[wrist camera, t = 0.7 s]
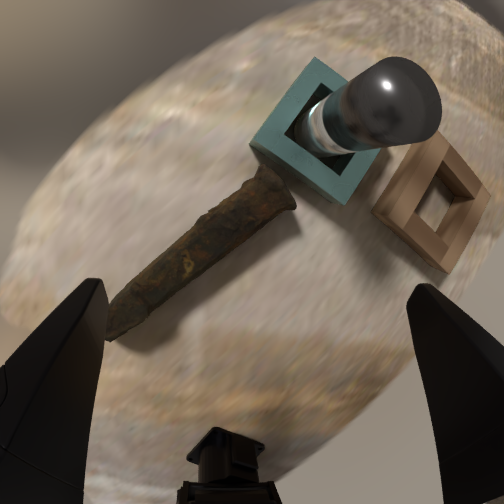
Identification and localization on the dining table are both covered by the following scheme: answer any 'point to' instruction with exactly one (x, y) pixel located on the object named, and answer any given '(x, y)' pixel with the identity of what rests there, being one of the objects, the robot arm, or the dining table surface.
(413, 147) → the frame
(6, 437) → the robot arm
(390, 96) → the grey and white cylinder
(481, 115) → the dining table surface
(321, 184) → the socket block
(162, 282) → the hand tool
